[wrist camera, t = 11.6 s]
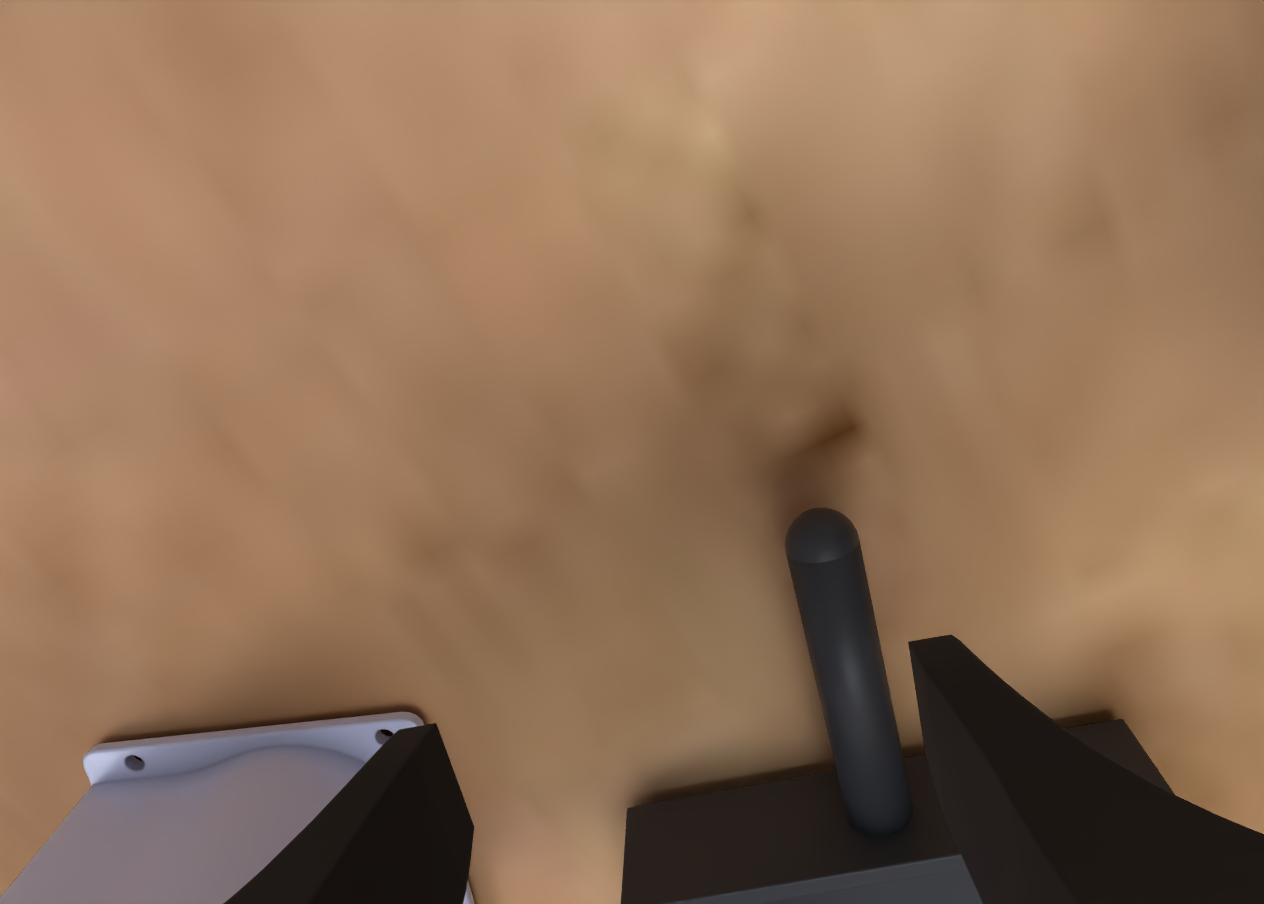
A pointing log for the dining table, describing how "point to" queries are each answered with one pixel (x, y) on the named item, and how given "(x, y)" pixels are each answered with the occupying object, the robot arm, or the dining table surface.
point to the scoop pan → (827, 778)
